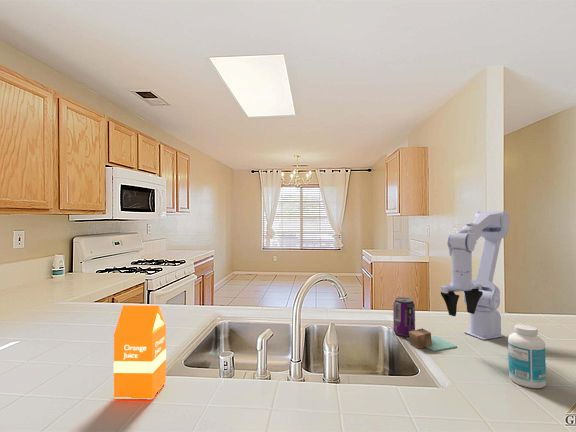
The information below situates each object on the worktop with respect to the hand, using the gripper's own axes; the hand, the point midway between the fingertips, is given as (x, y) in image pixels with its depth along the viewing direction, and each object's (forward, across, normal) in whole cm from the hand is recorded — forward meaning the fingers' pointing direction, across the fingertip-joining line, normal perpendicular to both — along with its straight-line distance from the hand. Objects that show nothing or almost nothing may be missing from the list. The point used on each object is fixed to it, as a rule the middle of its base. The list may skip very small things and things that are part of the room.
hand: (461, 314), depth 104 cm
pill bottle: (+10, +4, +23) cm, 25 cm away
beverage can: (+10, +10, -15) cm, 21 cm away
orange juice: (+10, +93, -4) cm, 94 cm away
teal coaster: (+10, +7, -4) cm, 13 cm away
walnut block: (+7, +10, -4) cm, 13 cm away
